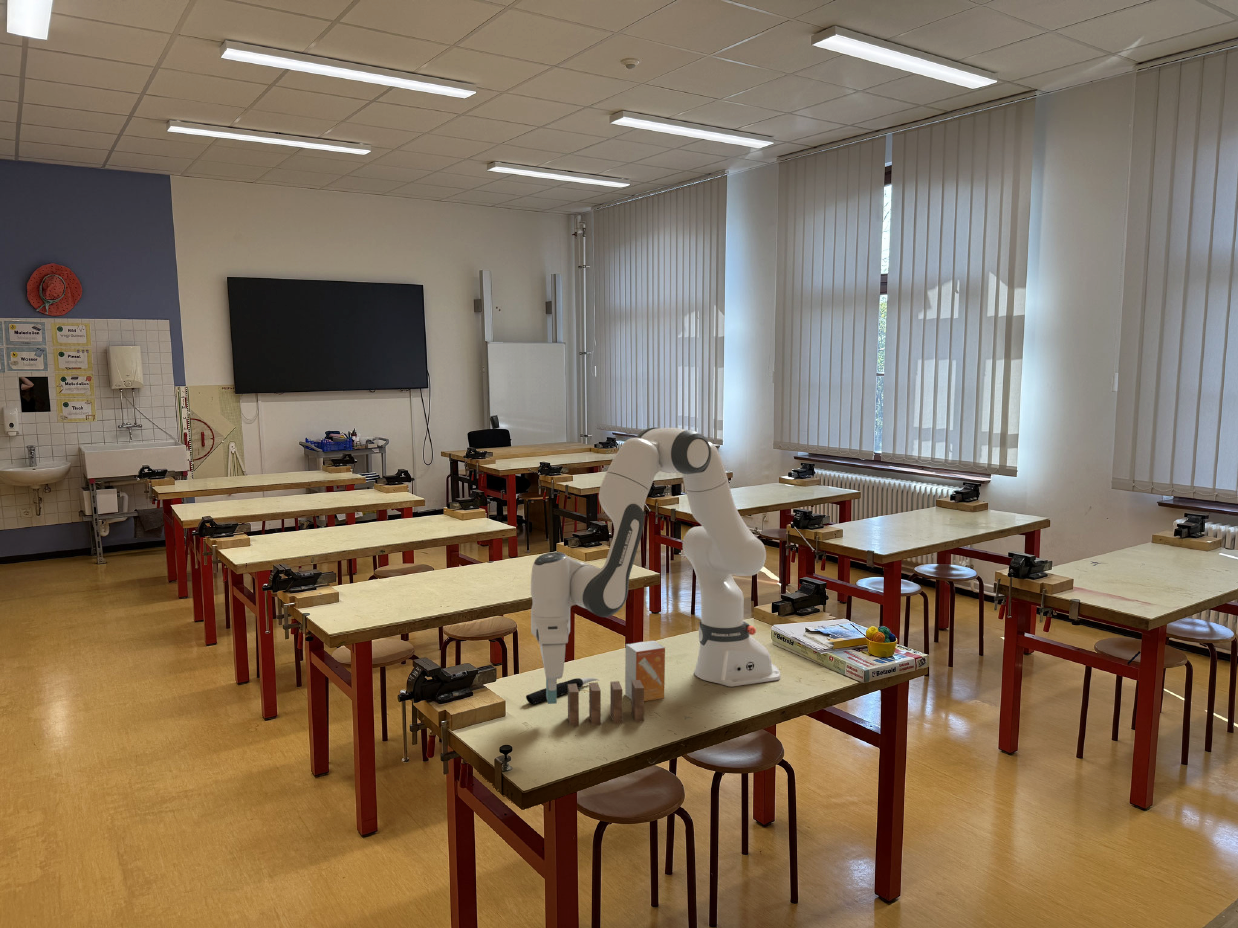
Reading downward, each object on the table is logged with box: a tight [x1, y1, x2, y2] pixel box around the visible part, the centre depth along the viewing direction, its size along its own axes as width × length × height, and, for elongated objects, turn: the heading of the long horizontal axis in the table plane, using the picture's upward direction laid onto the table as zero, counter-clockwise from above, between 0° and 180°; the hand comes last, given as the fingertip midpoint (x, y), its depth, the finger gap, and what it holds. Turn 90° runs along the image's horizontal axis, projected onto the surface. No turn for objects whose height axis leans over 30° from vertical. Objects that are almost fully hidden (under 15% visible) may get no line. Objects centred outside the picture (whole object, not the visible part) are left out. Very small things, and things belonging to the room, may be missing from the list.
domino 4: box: [609, 680, 623, 724], centre depth 193 cm, size 2×5×8 cm, turn 9°
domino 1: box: [545, 677, 558, 705], centre depth 190 cm, size 2×5×8 cm, turn 9°
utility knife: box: [525, 677, 599, 706], centre depth 208 cm, size 22×4×3 cm, turn 134°
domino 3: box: [588, 681, 602, 726], centre depth 192 cm, size 2×5×8 cm, turn 9°
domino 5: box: [631, 680, 645, 723], centre depth 193 cm, size 2×5×8 cm, turn 9°
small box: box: [624, 639, 666, 702], centre depth 206 cm, size 8×6×13 cm
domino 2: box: [567, 684, 580, 727], centre depth 191 cm, size 2×5×8 cm, turn 9°
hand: (550, 684), depth 190 cm, fingers closed on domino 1, 5 cm apart
